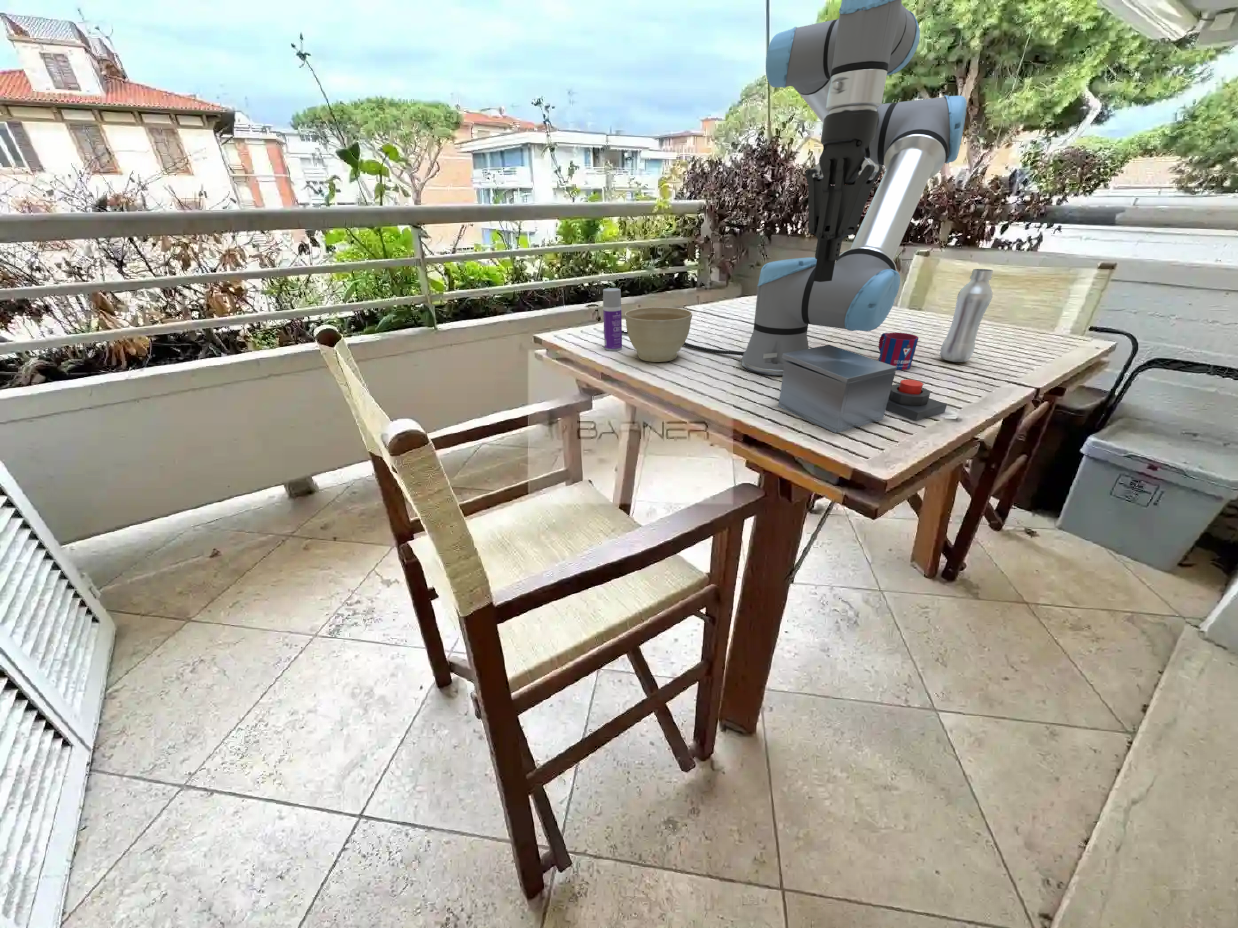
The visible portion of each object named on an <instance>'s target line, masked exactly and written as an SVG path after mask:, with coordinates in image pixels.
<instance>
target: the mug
mask: <svg viewBox="0 0 1238 928" xmlns="http://www.w3.org/2000/svg"><path fill="white" fill-rule="evenodd" d="M918 343H919V336H918V335H916V334H911V333H907V332H884V333H883V332H882V334H881V335H880V337H879V339H878V351H879V357H878V361H880V362H883V363H886V364H889V365H892V366H895V367H897V369H896V371H905V370H910V369H911V367H912V364H913V359H914V357H915V353H916V349H917V346H918Z"/></svg>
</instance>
